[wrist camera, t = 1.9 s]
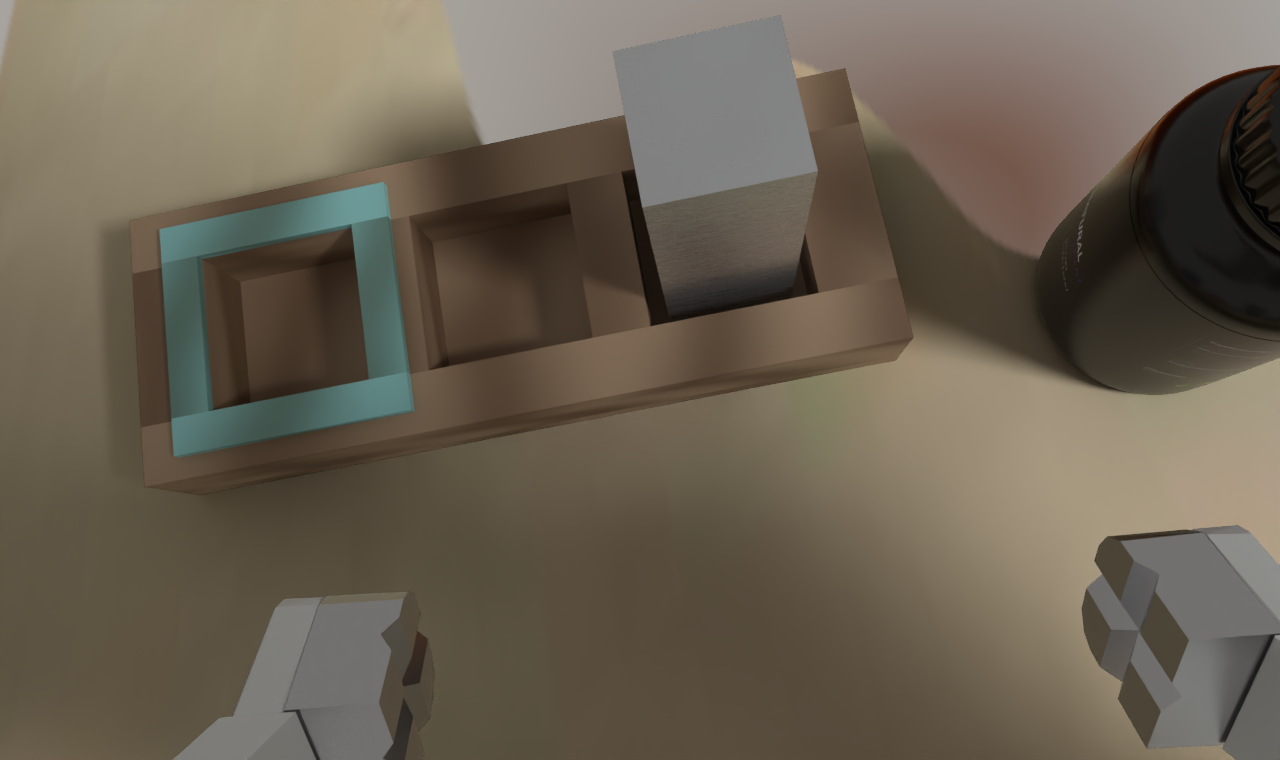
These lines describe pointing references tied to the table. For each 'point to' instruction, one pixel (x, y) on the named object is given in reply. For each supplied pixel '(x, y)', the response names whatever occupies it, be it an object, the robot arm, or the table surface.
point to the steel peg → (720, 164)
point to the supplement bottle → (1176, 248)
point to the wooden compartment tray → (473, 305)
